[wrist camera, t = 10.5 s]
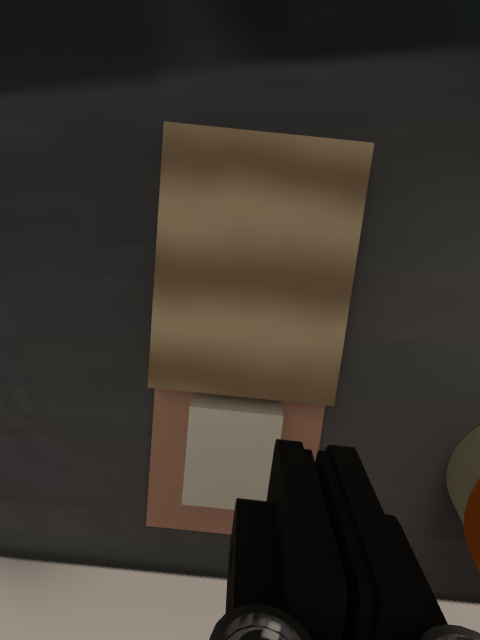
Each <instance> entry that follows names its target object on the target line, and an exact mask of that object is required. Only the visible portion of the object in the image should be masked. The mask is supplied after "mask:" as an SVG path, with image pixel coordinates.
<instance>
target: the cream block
mask: <svg viewBox="0 0 480 640" xmlns="http://www.w3.org/2000/svg"><path fill="white" fill-rule="evenodd" d="M282 424H283V410H282V405H281V401H276V400H267V399H257V398H247V397H237V396H227V395H218V394H208V393H198V392H194V395H193V398H192V401H191V404H190V407H189V420H188V432H187V444H186V457H185V469H184V481H183V493H182V505H191V506H201V507H211V508H220V509H230V510H235V503H236V499H237V498H242V499H251V500H260V501H266V500H267V493H268V486H269V480H270V473H271V466H272V459H273V453H274V446H275V442H276V439H281V432H282Z"/></svg>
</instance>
